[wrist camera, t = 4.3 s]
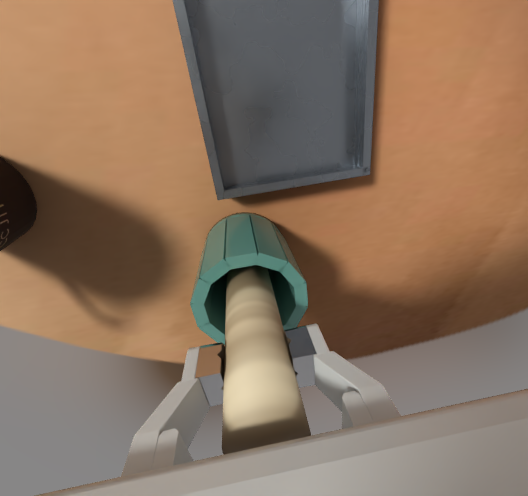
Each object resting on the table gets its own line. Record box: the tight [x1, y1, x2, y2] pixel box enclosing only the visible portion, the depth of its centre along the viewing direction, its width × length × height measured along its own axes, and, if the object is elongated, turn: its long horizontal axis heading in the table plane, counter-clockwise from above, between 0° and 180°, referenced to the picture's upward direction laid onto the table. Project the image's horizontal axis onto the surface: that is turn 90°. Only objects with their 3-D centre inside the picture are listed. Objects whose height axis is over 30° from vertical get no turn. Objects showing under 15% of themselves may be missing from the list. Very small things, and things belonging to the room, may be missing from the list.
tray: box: [173, 0, 379, 200], centre depth 14 cm, size 14×10×2 cm
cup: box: [190, 212, 308, 345], centre depth 17 cm, size 6×6×7 cm
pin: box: [222, 265, 311, 455], centre depth 14 cm, size 3×3×13 cm
